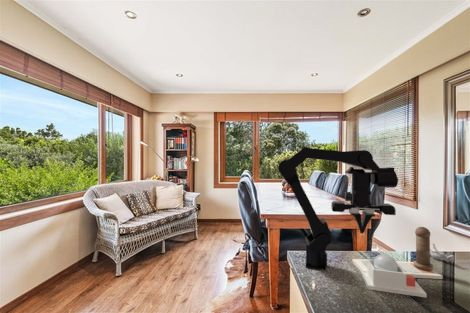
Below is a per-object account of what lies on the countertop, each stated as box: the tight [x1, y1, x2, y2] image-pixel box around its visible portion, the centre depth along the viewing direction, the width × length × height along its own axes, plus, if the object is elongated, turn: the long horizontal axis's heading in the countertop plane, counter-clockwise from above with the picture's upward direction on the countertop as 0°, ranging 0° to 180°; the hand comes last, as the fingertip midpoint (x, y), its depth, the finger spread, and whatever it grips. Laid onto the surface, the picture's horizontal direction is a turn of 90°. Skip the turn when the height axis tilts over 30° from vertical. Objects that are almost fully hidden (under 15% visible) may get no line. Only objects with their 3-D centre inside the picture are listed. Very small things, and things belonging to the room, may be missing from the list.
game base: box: [361, 258, 428, 298], centre depth 71 cm, size 14×9×6 cm, turn 72°
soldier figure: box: [430, 242, 455, 263], centre depth 89 cm, size 8×5×12 cm
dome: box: [373, 253, 397, 272], centre depth 71 cm, size 6×6×6 cm
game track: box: [352, 258, 444, 280], centre depth 81 cm, size 23×10×1 cm, turn 82°
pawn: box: [413, 226, 434, 271], centre depth 80 cm, size 5×5×13 cm
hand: (361, 233), depth 82 cm, fingers closed
